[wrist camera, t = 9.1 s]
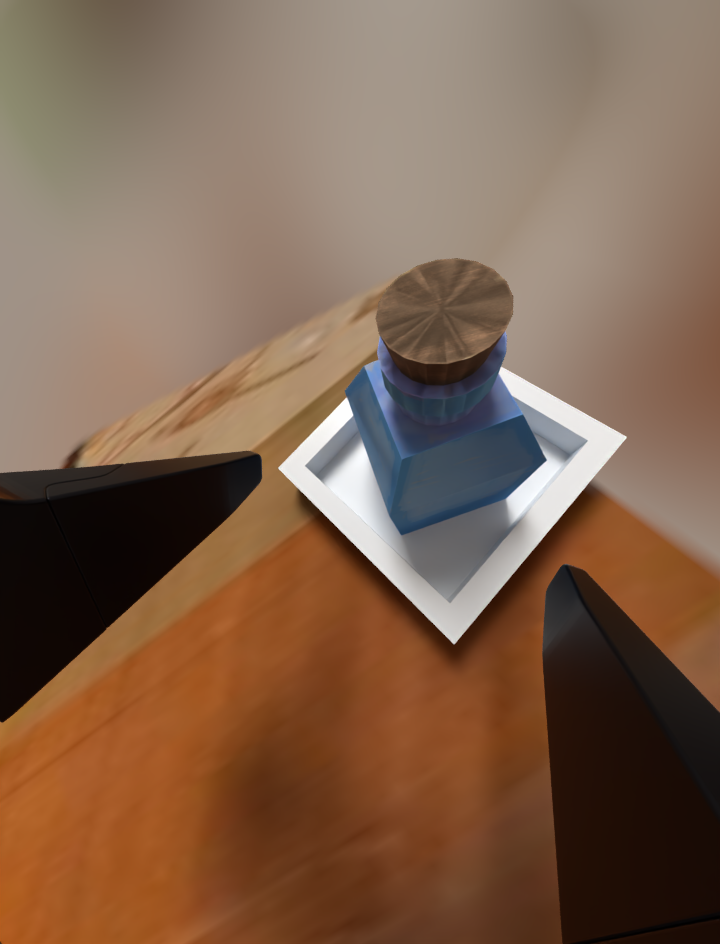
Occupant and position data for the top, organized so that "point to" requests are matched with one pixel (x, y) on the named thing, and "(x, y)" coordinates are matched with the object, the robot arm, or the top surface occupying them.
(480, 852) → the top surface
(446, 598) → the tray
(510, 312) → the perfume bottle
